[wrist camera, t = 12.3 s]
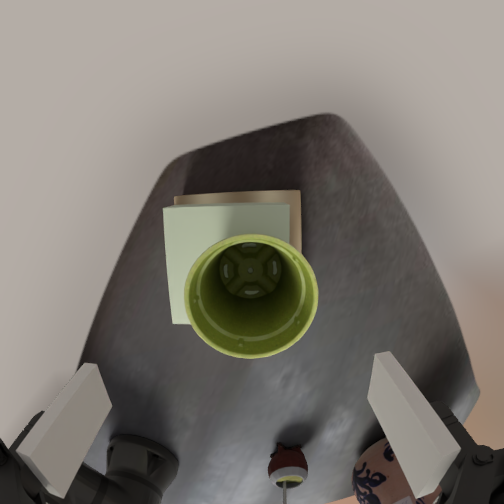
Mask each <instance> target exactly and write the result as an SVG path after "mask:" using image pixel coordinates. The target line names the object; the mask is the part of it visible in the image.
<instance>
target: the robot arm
mask: <svg viewBox="0 0 504 504" xmlns="http://www.w3.org/2000/svg"><path fill="white" fill-rule="evenodd" d="M367 399H368V401H369V403H370V405H371V407H372V409H373V411H374V413H375V415H376V417H377V419H378V421H379V423H380V425H381V427H382V429H383V431H384V433H385V435H386V437H387V439H388V441H389V443H390V445H391V447H392V449H393V451H394V453H395V455H396V458H397V460H398V462H399V464H400V466H401V468H402V470H403V472H404V474H405V476H406V479H407V481H408V483H409V485H410V487H411V489H412V492H413V494H414V496H415V498H416V499H417V498H420V497H423V496H425V495H428V494H430V493H432V492H434V490H435V489H436V488H437V486H438V485H440V487H441V489H442V491H441V492H440V494H439V495H438V496H437V498H436V499H435V500H434V502H433V504H435V503H436V502H437V503H436V504H504V448H503V449H499V450H493V449H491V448H490V447H488V446H485V445H477V444H476V443H475V442H474V440H473V439H472V437H471V436H470V435H469V434H468V432H467V431H466V429H465V428H464V427H463V426H462V424H461V423H460V422H458V419H457V418H456V416H454V414H453V413H452V411H451V410H450V409H449V407H448V406H446V405H445V404H443V403H442V402H440V401H438V400H437V401H434V402H431V403H428V401H427V400H426V398H425V397H424V396H423V394H422V393H421V392H420V390H419V389H418V388H417V386H416V385H415V384H414V382H413V381H412V380H411V378H410V377H409V376H408V374H407V373H406V372H405V371H404V369H403V368H402V367H401V365H400V364H399V363H398V361H397V360H396V359H395V358H394V356H393V355H392V354H391V352H390V351H388V352H382V353H377V354H375V357H374V363H373V370H372V375H371V381H370V387H369V392H368V397H367ZM111 408H112V404H111V401H110V399H109V396H108V394H107V391H106V388H105V386H104V383H103V380H102V378H101V375H100V372H99V369H98V366H97V364H92V363H84V364H83V365H82V366H81V367H80V369H79V370H78V371H77V372H76V373H75V375H74V376H73V377H72V378H71V380H70V381H69V382H68V383H67V384H66V386H65V387H64V388H63V390H62V391H61V392H60V394H58V396H57V397H56V398H55V399H54V401H53V402H52V403H51V405H50V406H49V407H48V408H47V410H46V411H41V412H40V413H38V414H37V415H35V416H34V417H33V418H32V419H31V421H30V422H29V423H28V425H27V426H26V427H25V428H24V431H22V432H21V433H20V435H19V436H18V438H17V439H16V440H15V441H14V443H13V444H12V445H11V447H10V448H9V449H8V448H7V447H6V446H5V444H4V443H3V441H2V440H1V439H0V504H161V500H162V496H163V493H164V492H165V491H166V489H167V488H168V487H169V485H170V484H171V483H172V481H173V480H174V479H175V477H176V475H177V471H178V462H177V460H176V458H175V457H174V455H173V454H172V453H171V452H169V451H168V450H167V449H166V448H164V447H163V446H161V445H159V444H157V443H155V442H153V441H151V440H149V439H146V438H143V437H139V436H134V435H119V436H116V437H114V438H113V439H112V440H111V441H110V444H109V446H108V448H107V468H106V474H105V476H104V475H102V474H101V473H99V472H98V471H96V470H95V469H93V468H92V467H90V466H89V465H87V464H86V463H84V462H83V460H84V458H85V456H86V454H87V452H88V450H89V448H90V446H91V444H92V442H93V441H94V439H95V437H96V435H97V433H98V431H99V430H100V428H101V426H102V424H103V422H104V420H105V419H106V417H107V415H108V413H109V411H110V410H111Z"/></svg>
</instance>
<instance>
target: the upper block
mask: <svg viewBox="0 0 504 504" xmlns="http://www.w3.org/2000/svg"><path fill="white" fill-rule="evenodd" d="M163 217H164V235H165V250H166V263H167V275H168V285H169V295H170V304H171V313H172V322H173V324H191V323H190V321H189V319H188V317H187V314H186V310H185V305H184V287H185V282H186V279H187V276H188V273H189V271H190V269H191V267H192V266H193V264H194V263H195V261H196V260H197V259H198V258H199V256H200V255H201V254H202V253H203V252H204V251H206V250H207V249H208V248H209V247H211V246H212V245H214V244H215V243H217V242H219V241H221V240H223V239H226V238H229V237H232V236H236V235H241V234H250V233H256V234H265V235H269V236H273V237H276V238H279V239H281V240H283V241H285V242H287V243H289V236H290V205H288V204H286V203H284V202H260V203H211V204H184V205H173V206H169V207H165V208H163ZM256 246H257V245H256V244H253V243H249V244H248V243H245V244H243V245H242V247H243V248H245V247H256ZM248 272H249V273H252V272H253V269H252V268H249V269H248ZM276 273H277V268H276V262H275V261H273V274H274V275H275V274H276ZM224 274H225V277H227V278H228V273H227V264H226V265H225V266H224ZM258 292H259V291H245V293H246V294H255V293H258Z"/></svg>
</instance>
